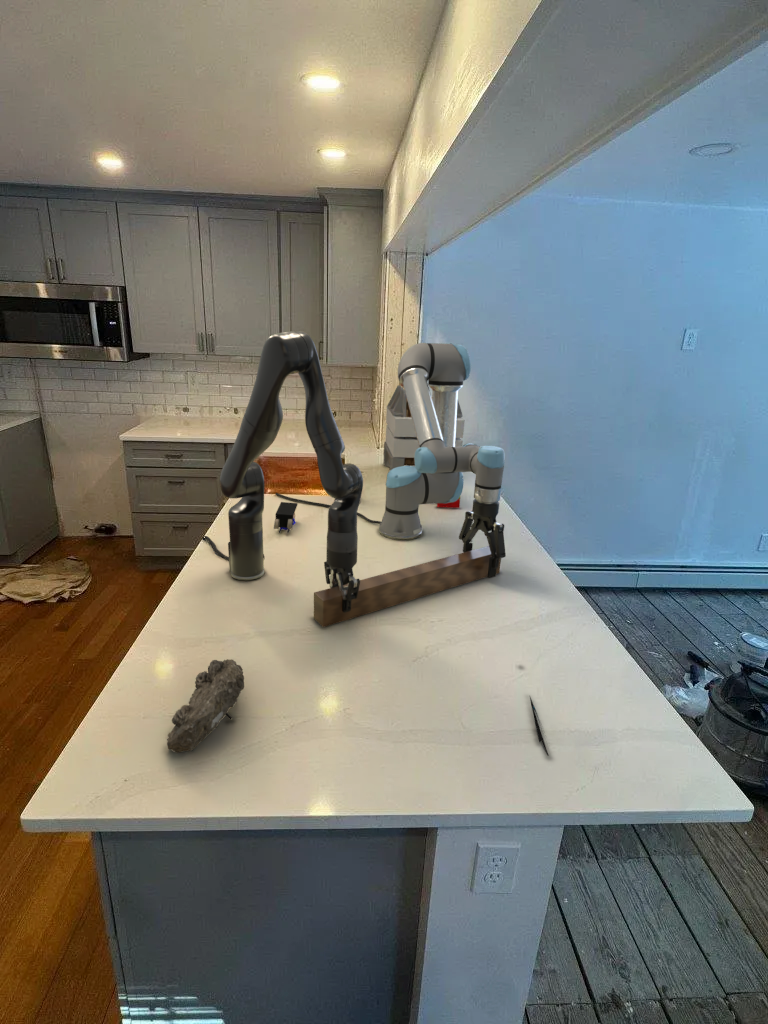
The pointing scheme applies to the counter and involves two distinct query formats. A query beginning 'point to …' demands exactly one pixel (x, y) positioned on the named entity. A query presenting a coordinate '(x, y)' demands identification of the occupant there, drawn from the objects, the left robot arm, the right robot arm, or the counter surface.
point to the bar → (403, 585)
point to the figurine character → (285, 516)
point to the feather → (538, 726)
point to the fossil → (206, 705)
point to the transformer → (406, 432)
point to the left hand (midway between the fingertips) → (340, 606)
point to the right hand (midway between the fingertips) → (478, 569)
